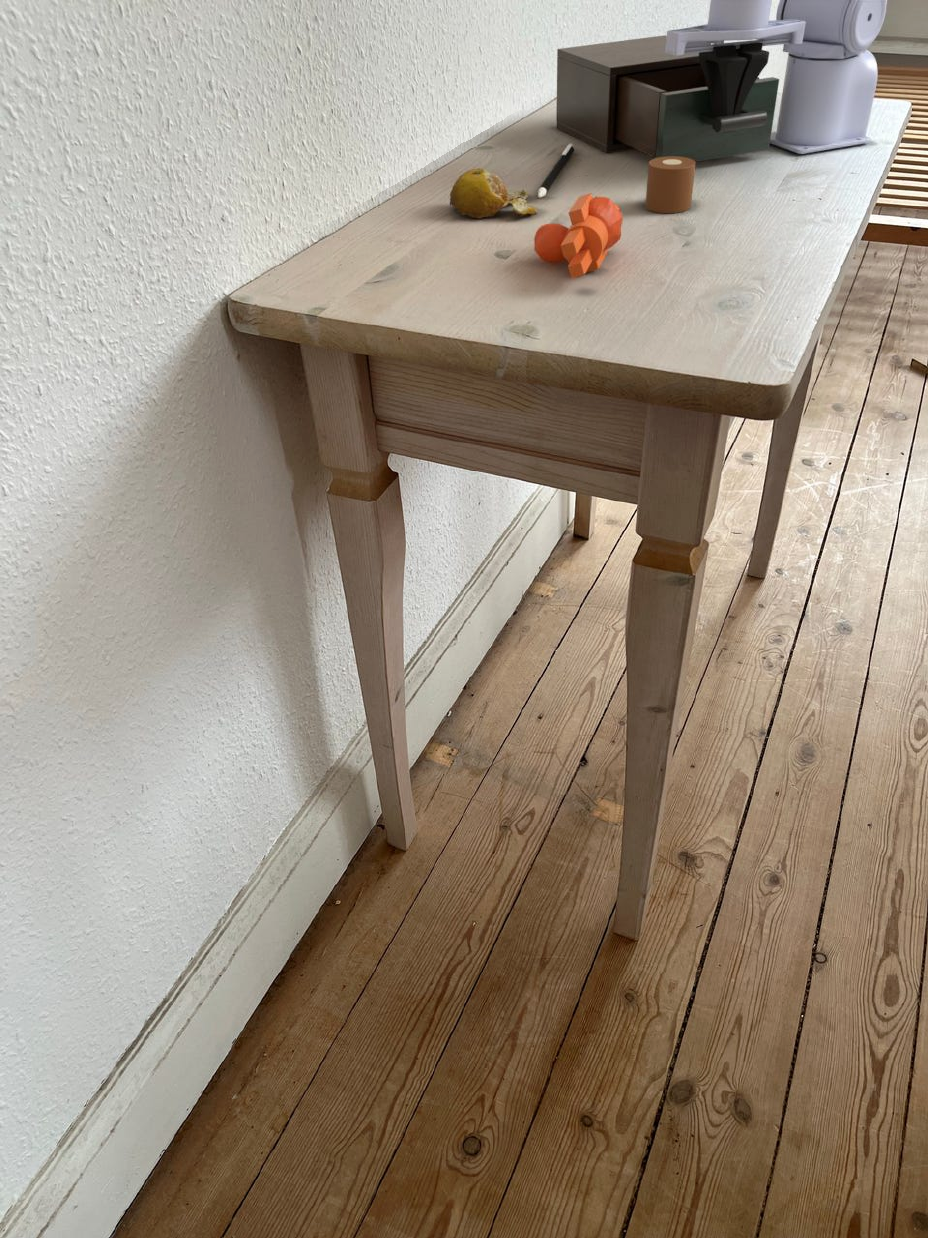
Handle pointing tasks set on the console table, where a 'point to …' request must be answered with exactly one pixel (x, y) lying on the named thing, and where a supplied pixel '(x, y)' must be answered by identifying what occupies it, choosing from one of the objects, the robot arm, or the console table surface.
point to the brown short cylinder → (670, 184)
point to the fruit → (486, 195)
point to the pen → (556, 170)
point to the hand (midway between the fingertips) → (723, 129)
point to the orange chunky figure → (581, 235)
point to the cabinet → (604, 84)
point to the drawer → (689, 115)
